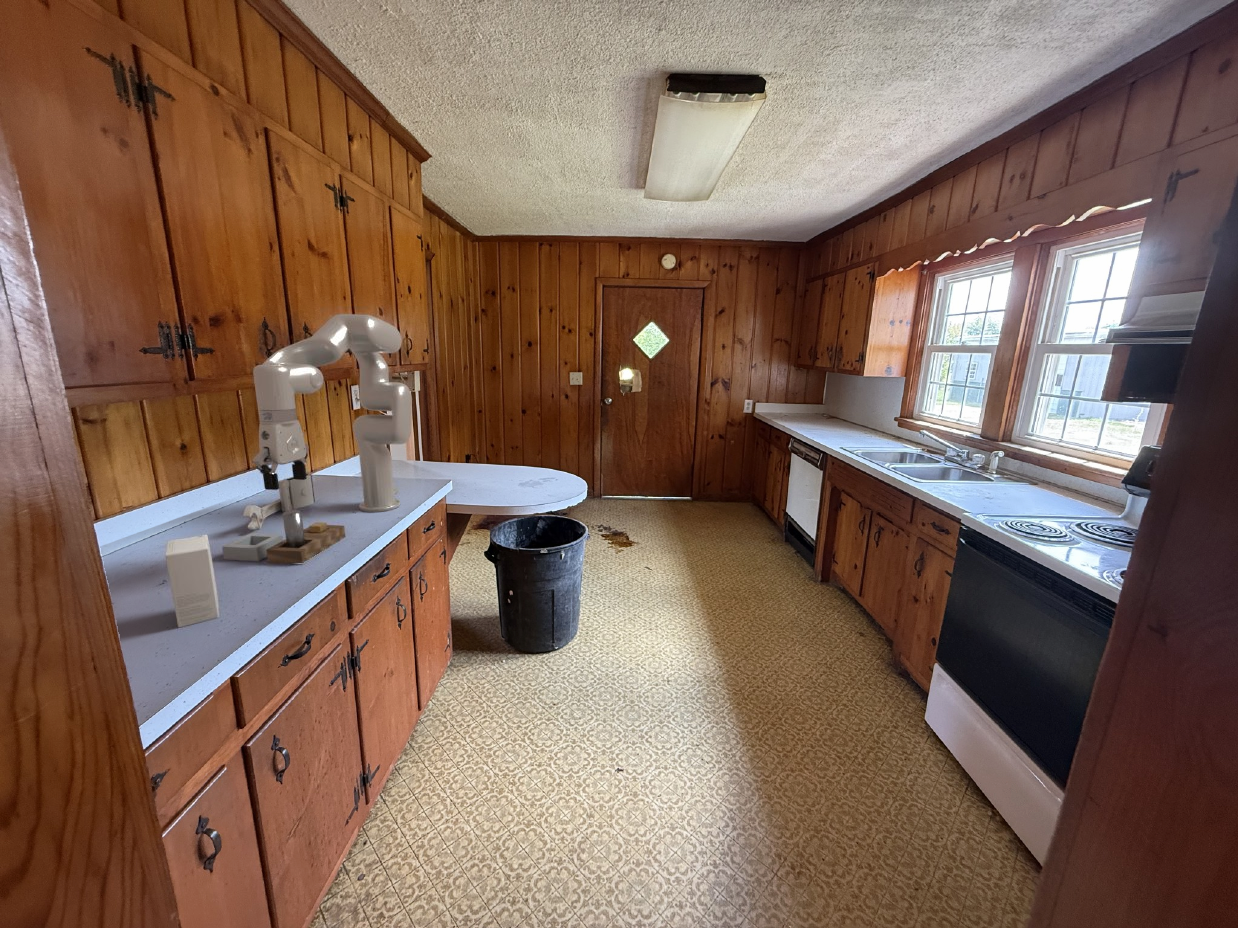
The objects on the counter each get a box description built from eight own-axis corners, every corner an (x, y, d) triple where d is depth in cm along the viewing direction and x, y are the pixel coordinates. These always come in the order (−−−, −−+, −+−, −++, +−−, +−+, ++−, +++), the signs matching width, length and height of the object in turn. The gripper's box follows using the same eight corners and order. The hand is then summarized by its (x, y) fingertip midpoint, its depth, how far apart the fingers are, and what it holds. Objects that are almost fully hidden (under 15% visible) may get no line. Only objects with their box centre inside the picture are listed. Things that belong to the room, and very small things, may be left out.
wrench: (290, 512, 166) (252, 535, 137) (284, 513, 165) (244, 535, 137) (288, 489, 165) (249, 507, 136) (281, 489, 164) (241, 507, 136)
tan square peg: (318, 538, 136) (316, 522, 135) (328, 539, 136) (326, 522, 135) (311, 542, 133) (309, 525, 132) (321, 543, 133) (319, 526, 132)
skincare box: (179, 610, 100) (165, 540, 96) (220, 600, 104) (208, 533, 100) (177, 629, 93) (162, 554, 90) (221, 618, 97) (208, 546, 94)
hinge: (288, 515, 155) (284, 485, 153) (272, 514, 155) (267, 484, 153) (317, 501, 169) (313, 473, 166) (302, 500, 169) (298, 473, 167)
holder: (252, 545, 132) (250, 533, 131) (284, 546, 131) (282, 534, 130) (224, 559, 123) (222, 546, 122) (258, 560, 123) (256, 548, 122)
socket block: (315, 535, 139) (313, 524, 139) (345, 536, 139) (344, 525, 138) (268, 562, 122) (266, 549, 121) (302, 564, 122) (300, 551, 121)
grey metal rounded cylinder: (295, 552, 128) (289, 509, 125) (310, 553, 128) (304, 510, 125) (284, 558, 124) (278, 514, 121) (299, 559, 124) (293, 515, 121)
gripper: (265, 421, 109) (275, 494, 113) (316, 413, 126) (323, 476, 129) (233, 420, 109) (244, 493, 113) (288, 411, 126) (296, 475, 130)
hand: (286, 484), depth 121 cm, fingers open, 9 cm apart
